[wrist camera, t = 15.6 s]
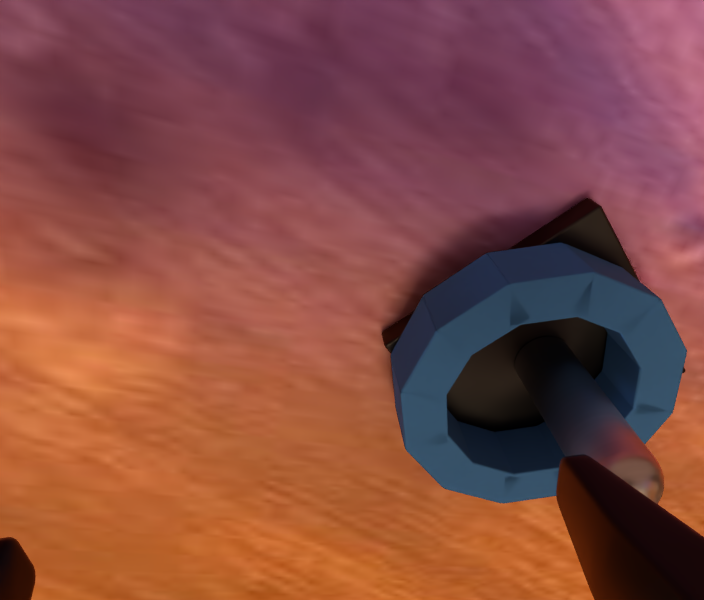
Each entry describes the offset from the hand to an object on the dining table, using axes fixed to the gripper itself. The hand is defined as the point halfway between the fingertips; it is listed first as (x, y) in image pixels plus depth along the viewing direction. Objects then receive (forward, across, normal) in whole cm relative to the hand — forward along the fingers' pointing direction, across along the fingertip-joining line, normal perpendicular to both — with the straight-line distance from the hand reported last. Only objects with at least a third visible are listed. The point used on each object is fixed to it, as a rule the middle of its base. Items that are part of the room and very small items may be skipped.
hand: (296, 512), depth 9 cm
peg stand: (+11, -9, +6) cm, 16 cm away
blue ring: (+10, -8, +6) cm, 14 cm away
